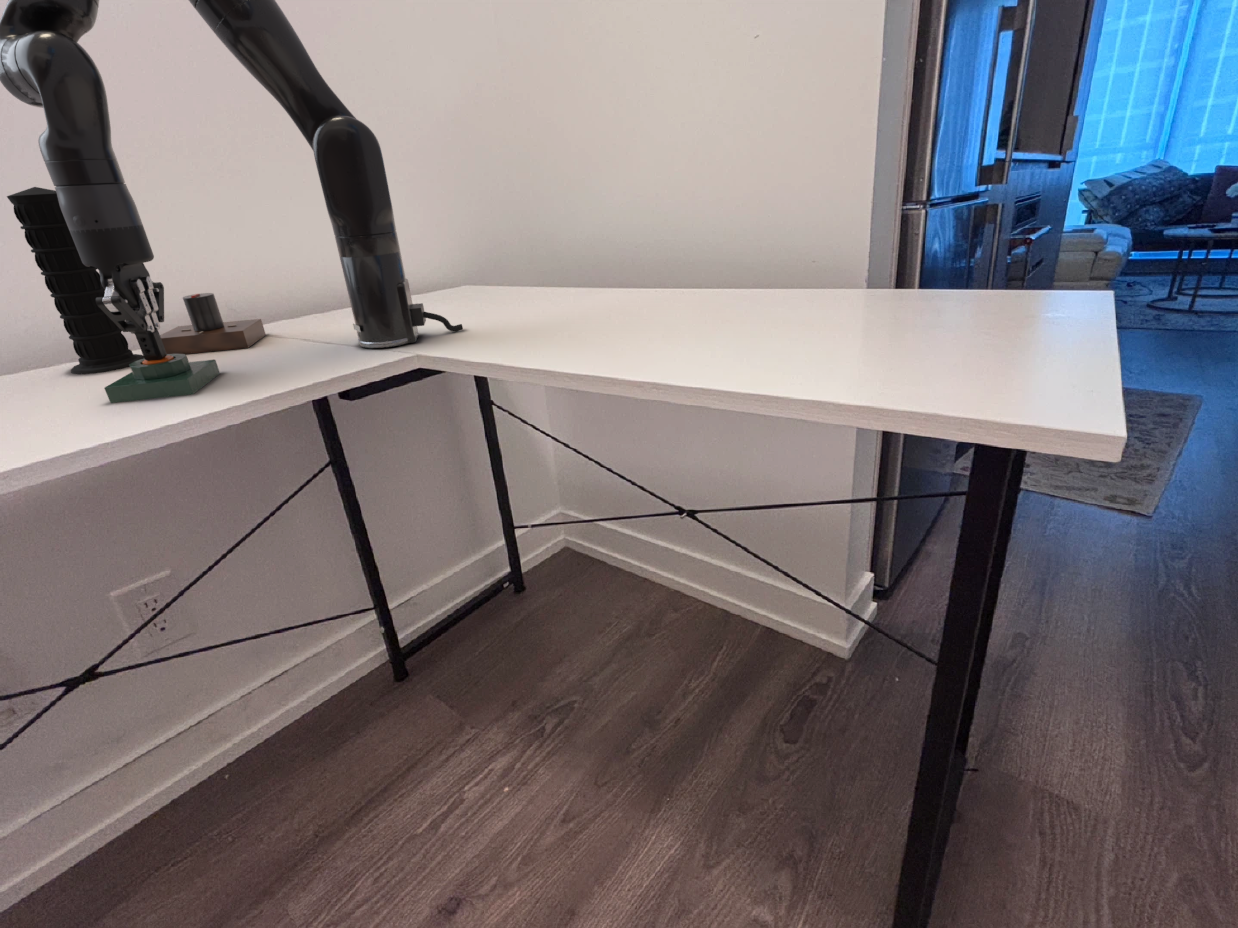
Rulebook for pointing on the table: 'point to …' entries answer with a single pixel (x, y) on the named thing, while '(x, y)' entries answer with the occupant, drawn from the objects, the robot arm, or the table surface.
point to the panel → (213, 337)
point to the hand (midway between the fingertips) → (156, 358)
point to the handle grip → (71, 284)
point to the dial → (203, 311)
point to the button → (158, 360)
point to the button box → (162, 379)
